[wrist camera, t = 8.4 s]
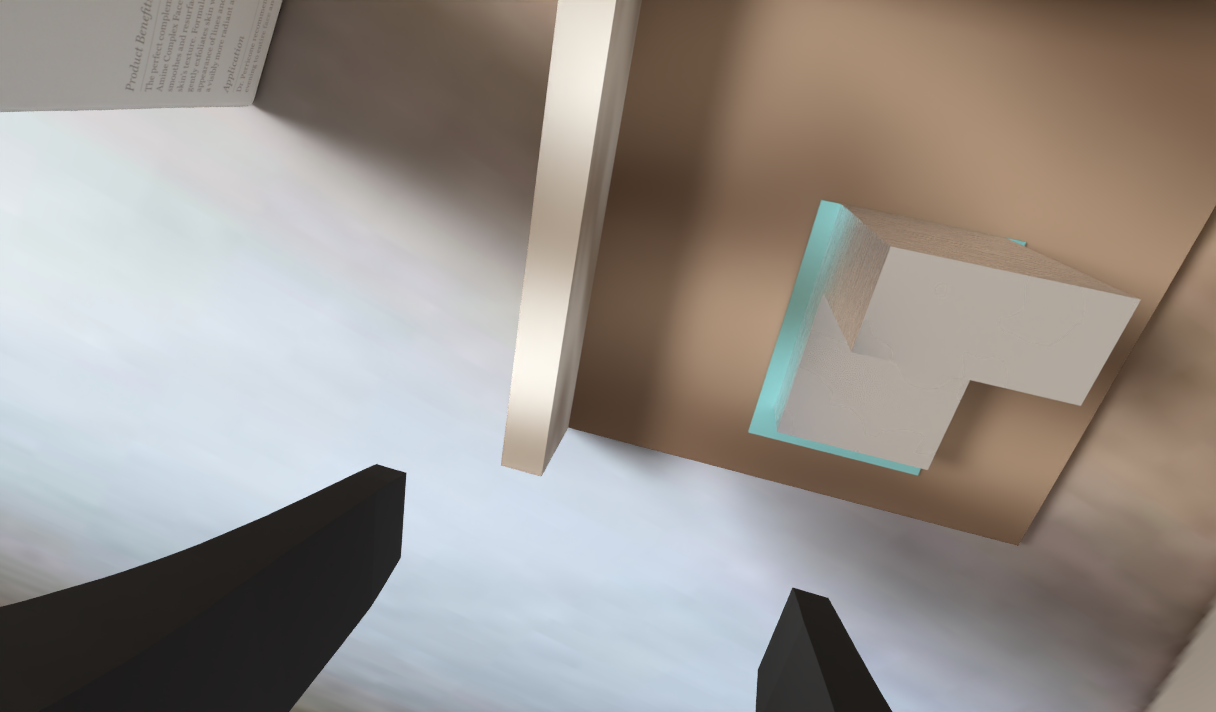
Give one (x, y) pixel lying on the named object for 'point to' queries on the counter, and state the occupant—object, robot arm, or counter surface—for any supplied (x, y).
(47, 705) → the robot arm
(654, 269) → the corner arena
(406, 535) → the counter surface
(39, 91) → the skincare box
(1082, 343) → the aluminium bracket
